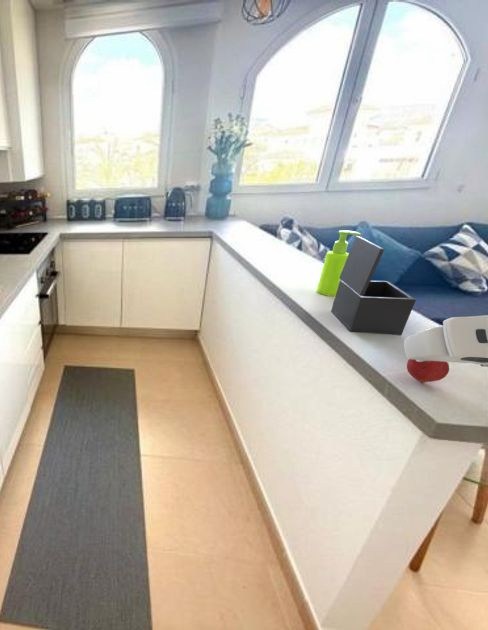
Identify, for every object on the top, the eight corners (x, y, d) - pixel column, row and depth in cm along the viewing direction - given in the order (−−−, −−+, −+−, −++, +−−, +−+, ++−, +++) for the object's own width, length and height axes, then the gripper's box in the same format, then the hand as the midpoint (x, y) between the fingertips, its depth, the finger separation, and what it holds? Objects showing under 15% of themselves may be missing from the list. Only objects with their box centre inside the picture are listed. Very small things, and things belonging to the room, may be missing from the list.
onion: (412, 389, 69) (427, 355, 65) (394, 372, 74) (408, 340, 70) (447, 391, 67) (465, 357, 64) (427, 374, 72) (443, 341, 69)
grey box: (376, 313, 97) (388, 281, 93) (401, 334, 86) (416, 299, 82) (330, 311, 100) (340, 279, 96) (349, 331, 89) (361, 297, 85)
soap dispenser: (339, 298, 107) (359, 234, 99) (314, 292, 112) (330, 231, 104) (344, 292, 111) (363, 230, 102) (319, 287, 116) (335, 228, 107)
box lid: (359, 236, 90) (356, 235, 90) (384, 249, 79) (380, 248, 80) (342, 278, 96) (338, 278, 96) (363, 296, 85) (359, 295, 85)
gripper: (616, 325, 49) (521, 348, 61) (436, 316, 54) (383, 339, 67) (632, 369, 47) (530, 383, 59) (444, 355, 52) (388, 371, 65)
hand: (451, 360), depth 63 cm, fingers open, 8 cm apart
